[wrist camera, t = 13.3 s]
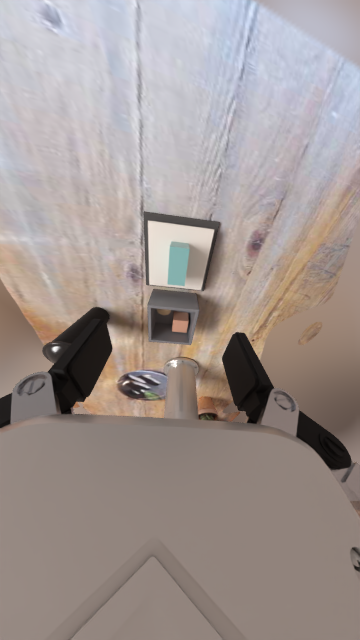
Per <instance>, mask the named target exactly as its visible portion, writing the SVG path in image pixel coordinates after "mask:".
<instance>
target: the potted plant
mask: <svg viewBox="0 0 360 640" xmlns="http://www.w3.org/2000/svg"><path fill="white" fill-rule="evenodd" d="M198 416H199V420H208V421H213V420H215V419H217V418H218V412H217V410H216V409H215V407H214V404H213V402H212V400H211V398H210V397H201V398H199V402H198Z"/></svg>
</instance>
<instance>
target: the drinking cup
mask: <svg viewBox="0 0 360 640" xmlns="http://www.w3.org/2000/svg"><path fill="white" fill-rule="evenodd" d="M93 319H102V320H104V322H106V324H107V322H108V320H109V314H108V313H107V312H106V311H105V310H104V309H102V308H98V307H95V308H92V309H91V310H90V311H88V312H87V313H86V314H85V315H83V316H82V317H81V318H80V319H79V320H77V321H76V322H75V323H74V324H73V325H71V326H70V327H69V328H68V329H67V330H65V331H64V332H63V333H62V334H60V335H59V336H58V337H57V338H56V339H54V340H53V341H52V342H49V343H47V344H46V345H45V346H44V347H43V354H44V356H45V357H46V358H47V359H48V360H49V361H51V362H52V363H54V364H55V363H56V361H57V360H58V359H59V358H60V357H61V355H62V354H63V353H64V352H65V351H66V350H67V348H68V347H69V346H70V345H71V344H72V342H73V341H74V340H75V339H76V338H77V337H78V336H79V335H80V334H81V333H82V331H83V330H84V329H85V328H86V327H87V325H88V324H89V323H90V322H91V321H92V320H93Z"/></svg>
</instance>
